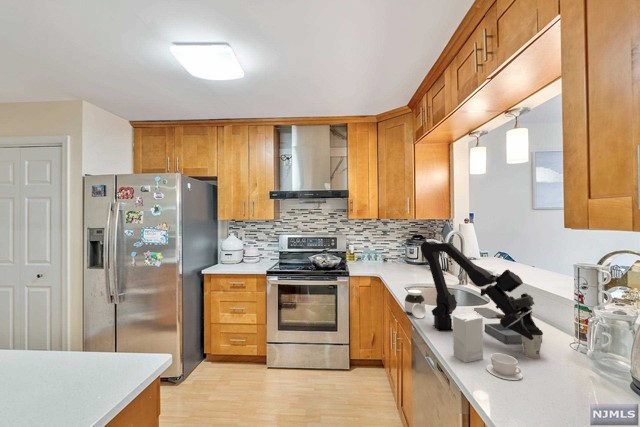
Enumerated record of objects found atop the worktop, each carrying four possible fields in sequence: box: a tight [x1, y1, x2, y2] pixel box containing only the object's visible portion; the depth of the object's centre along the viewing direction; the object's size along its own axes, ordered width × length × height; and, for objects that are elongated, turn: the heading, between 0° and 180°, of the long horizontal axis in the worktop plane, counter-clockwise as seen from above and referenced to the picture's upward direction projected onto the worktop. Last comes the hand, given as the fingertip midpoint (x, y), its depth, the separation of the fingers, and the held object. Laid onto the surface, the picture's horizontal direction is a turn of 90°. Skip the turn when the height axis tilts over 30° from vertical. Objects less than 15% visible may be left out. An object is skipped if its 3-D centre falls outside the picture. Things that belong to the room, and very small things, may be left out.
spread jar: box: [404, 289, 427, 319], centre depth 151 cm, size 12×11×12 cm
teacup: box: [485, 352, 523, 381], centre depth 95 cm, size 10×10×5 cm
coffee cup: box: [521, 325, 544, 359], centre depth 107 cm, size 7×7×10 cm
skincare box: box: [452, 312, 484, 363], centre depth 105 cm, size 8×6×15 cm
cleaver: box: [473, 307, 505, 320], centre depth 147 cm, size 29×10×2 cm, turn 4°
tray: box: [484, 322, 543, 345], centre depth 123 cm, size 16×13×4 cm
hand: (535, 336), depth 106 cm, fingers open, 8 cm apart
